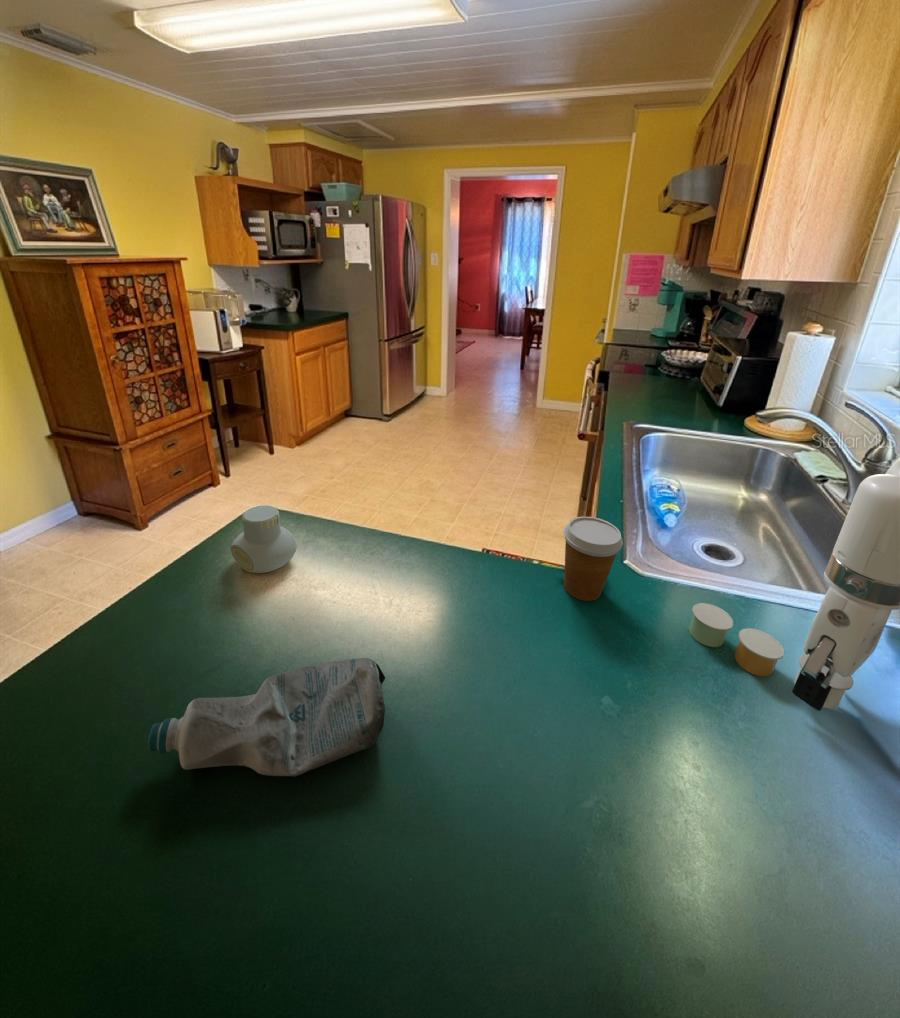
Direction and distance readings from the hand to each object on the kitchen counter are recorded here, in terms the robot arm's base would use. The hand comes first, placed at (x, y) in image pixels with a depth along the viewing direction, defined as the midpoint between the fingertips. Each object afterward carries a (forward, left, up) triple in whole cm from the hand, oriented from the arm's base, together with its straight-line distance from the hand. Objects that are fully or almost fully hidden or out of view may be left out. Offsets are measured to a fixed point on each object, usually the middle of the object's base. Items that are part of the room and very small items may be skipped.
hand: (817, 689), depth 62 cm
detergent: (+67, +16, -3) cm, 69 cm away
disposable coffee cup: (+28, -18, -3) cm, 33 cm away
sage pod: (+10, -10, -3) cm, 14 cm away
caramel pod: (+5, -6, -3) cm, 8 cm away
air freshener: (+84, -14, -3) cm, 85 cm away
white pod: (0, 0, -1) cm, 1 cm away
